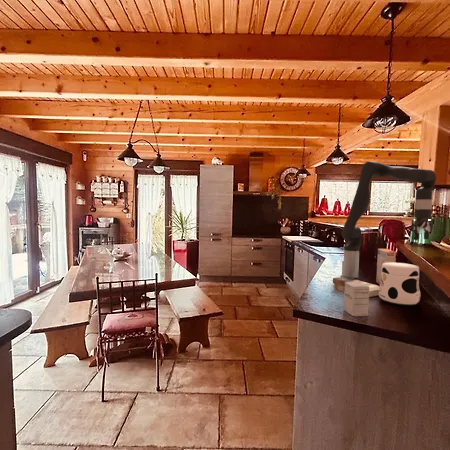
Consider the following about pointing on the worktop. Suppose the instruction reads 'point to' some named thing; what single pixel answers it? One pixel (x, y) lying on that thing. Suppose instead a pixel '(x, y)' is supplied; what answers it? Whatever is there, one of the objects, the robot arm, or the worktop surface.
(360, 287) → the supplement box
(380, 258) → the cracker box
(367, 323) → the worktop surface
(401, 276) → the milk container
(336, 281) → the walnut leg
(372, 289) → the seat panel
